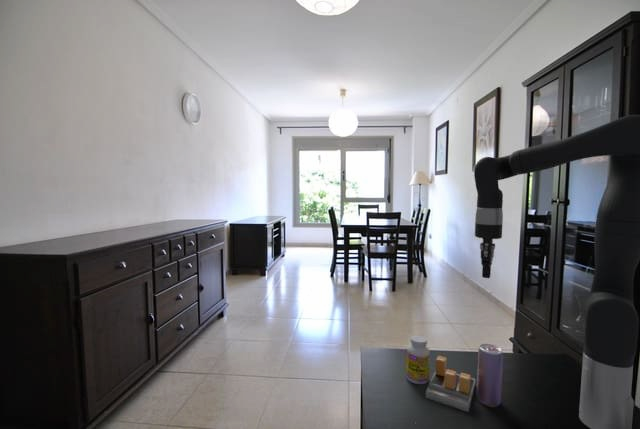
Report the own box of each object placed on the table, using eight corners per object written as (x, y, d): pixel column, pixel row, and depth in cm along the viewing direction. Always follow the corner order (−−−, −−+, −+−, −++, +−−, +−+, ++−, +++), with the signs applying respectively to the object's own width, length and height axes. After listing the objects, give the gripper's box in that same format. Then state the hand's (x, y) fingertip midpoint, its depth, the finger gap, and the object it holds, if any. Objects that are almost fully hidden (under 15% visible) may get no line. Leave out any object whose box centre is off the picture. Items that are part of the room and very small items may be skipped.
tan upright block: (470, 390, 90) (470, 374, 90) (468, 396, 88) (469, 379, 88) (460, 387, 92) (461, 371, 91) (458, 393, 89) (459, 376, 89)
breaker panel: (475, 385, 97) (475, 374, 97) (468, 412, 85) (469, 400, 85) (436, 374, 103) (437, 364, 103) (425, 397, 91) (426, 386, 91)
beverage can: (503, 409, 86) (506, 355, 85) (479, 406, 87) (482, 352, 86) (496, 395, 92) (498, 344, 91) (473, 392, 93) (476, 342, 92)
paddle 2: (455, 386, 92) (456, 370, 92) (453, 392, 90) (454, 375, 89) (446, 383, 94) (446, 368, 93) (444, 389, 91) (444, 373, 91)
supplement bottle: (403, 381, 99) (405, 340, 98) (408, 370, 105) (409, 332, 104) (426, 387, 96) (428, 345, 95) (430, 376, 101) (431, 336, 100)
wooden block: (446, 371, 100) (446, 357, 99) (444, 376, 97) (444, 361, 97) (437, 369, 101) (438, 354, 101) (435, 374, 99) (436, 359, 98)
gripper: (501, 225, 93) (498, 284, 94) (503, 221, 104) (500, 274, 105) (472, 223, 97) (470, 280, 98) (477, 220, 108) (475, 271, 109)
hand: (486, 277), depth 102 cm, fingers closed
